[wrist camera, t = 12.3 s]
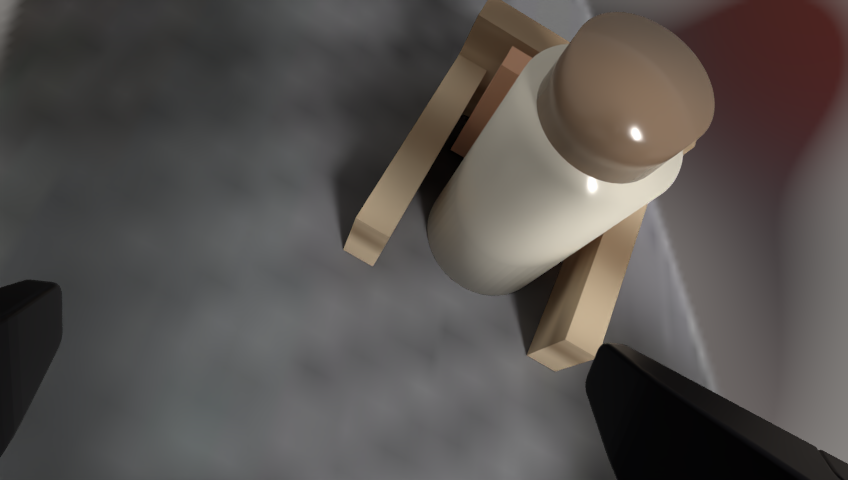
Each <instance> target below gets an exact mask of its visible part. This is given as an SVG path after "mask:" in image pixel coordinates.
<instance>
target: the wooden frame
mask: <svg viewBox="0 0 848 480" xmlns="http://www.w3.org/2000/svg"><path fill="white" fill-rule="evenodd" d="M569 43H570V42H568V41H567V40H565V39H563V38H562V37H560V36H559V35H557V34H555V33H554V32H552V31H550V30H549V29H547V28H545V27H544V26H542V25H541V24H539V23H537V22H536V21H534V20H532V19H531V18H529V17H528V16H526V15H524V14H523V13H521V12H519V11H518V10H516V9H515V8H513V7H511V6H510V5H508V4H506V3H505V2H503V1H502V0H488V1H487V2H486V4H485V6H484V7H483V9H482V10H481V12H480V13H479V15H478V17H477V19H476V21H475V23H474V25H473V27H472V29H471V31H470V33H469V35H468V37H467V40H466V42H465V44H464V46H463V48H462V50H461V52H460V54H459V56H458V57H457V59H456V60H455V62H454V63H453V65H452V67H451V68H450V70H449V71H448V73H447V74H446V76H445V78H444V79H443V81H442V82H441V84H440V86H439V87H438V89H437V90H436V92H435V93H434V95H433V97H432V98H431V100H430V101H429V103H428V104H427V106H426V108H425V109H424V111H423V112H422V114H421V116H420V117H419V119H418V120H417V122H416V123H415V125H414V127H413V128H412V130H411V131H410V133H409V134H408V136H407V138H406V139H405V141H404V142H403V144H402V146H401V147H400V149H399V150H398V152H397V153H396V155H395V157H394V158H393V160H392V161H391V163H390V165H389V166H388V168H387V169H386V171H385V172H384V174H383V176H382V177H381V179H380V180H379V182H378V183H377V185H376V187H375V188H374V190H373V191H372V193H371V195H370V196H369V198H368V199H367V201H366V202H365V204H364V206H363V207H362V209H361V210H360V212H359V213H358V215H357V217H356V218H355V221H354V224H353V226H352V229H351V231H350V234H349V236H348V239H347V241H346V244H345V247H344V249H343V250H345V251H346V252H348V253H350V254H352V255H353V256H355V257H357V258H359V259H360V260H362V261H364V262H366V263H367V264H369V265H371V266H373V265H374V264H375V262H376V260H377V259H378V257H379V255H380V253H381V252H382V250H383V248H384V247H385V245H386V243H387V241H388V240H389V238H390V236H391V235H392V233H393V231H394V229H395V228H396V226H397V224H398V223H399V221H400V219H401V217H402V216H403V214H404V212H405V211H406V209H407V207H408V205H409V204H410V202H411V200H412V199H413V197H414V195H415V193H416V192H417V190H418V188H419V187H420V185H421V183H422V182H423V180H424V178H425V176H426V175H427V173H428V171H429V170H430V168H431V166H432V164H433V163H434V161H435V159H436V158H437V156H438V154H439V152H440V151H441V149H442V147H443V146H444V144H445V142H446V140H447V139H448V137H449V135H450V134H451V132H452V130H453V128H454V127H455V125H456V123H457V122H458V120H459V118H460V116H461V115H462V114H464V115H466V116H467V117H470V116H471V114H472V112H473V111H474V109H475V107H476V106H477V104H478V102H479V101H480V99H481V97H482V96H483V94H484V92H485V91H486V89H487V87H488V86H489V84H490V82H491V81H492V79H493V77H494V76H495V74H496V73H497V71H498V69H499V68H500V66H501V64H502V63H503V61H504V59H505V58H506V56H507V54H508V53H509V51H510V49H511V48H512V46H513V47H515V48H517V49H518V50H520V51H522V52H523V53H525V54H527V55H528V56H530V57H532V58H533V57H534V56H536V55H537V54H539V53H540V52H542V51H543V50H546V49H548V48H550V47H553V46H557V45H562V44H569ZM695 143H696V141H694V142H693V143H692V144H690V145H689V146H688V147H686V148H685V149H683V155H684V154H685V153H686V152H688V151H689V150H691V149H692V148H693V147H694V146H695ZM647 204H648V203H647ZM647 204H646V205H644V206H643V207H641V208H640V209H638V210H637V211H635V212H634V213H632V214H631V215H630V216H628V217H627V218H625V219H624V220H622V221H621V222H619V223H618V224H616V225H615V226H613V227H612V228H610V229H609V230H607V231H606V232H604V233H603V234H601V235H600V236H598V237H597V238H595V239H594V240H592V241H591V242H589V243H588V244H586V245H585V246H584V247H582V248H581V249H579V250H578V251H576V252H575V253H573V254H572V255H570V256H569V257H567V258H566V259H564V261H563V264H562V266H561V269H560V272H559V274H558V277H557V279H556V282H555V284H554V287H553V289H552V292H551V295H550V297H549V300H548V302H547V305H546V307H545V310H544V312H543V315H542V318H541V320H540V323H539V325H538V328H537V330H536V333H535V335H534V338H533V341H532V343H531V346H530V348H529V351H528V353H527V356H529V357H531V358H532V359H534V360H536V361H537V362H539V363H541V364H543V365H544V366H546V367H548V368H550V369H551V370H553V371H558V370H562V369H565V368H568V367H571V366H574V365H577V364H581V363H584V362H587V361H590V360H593V359H594V358H595V355H596V353H597V350H598V348H599V347H600V346H601V345H602V343H603V340H604V337H605V334H606V331H607V328H608V324H609V321H610V318H611V315H612V312H613V309H614V306H615V303H616V300H617V297H618V294H619V290H620V287H621V284H622V281H623V278H624V275H625V272H626V269H627V266H628V263H629V260H630V257H631V253H632V250H633V247H634V244H635V241H636V238H637V235H638V232H639V229H640V226H641V223H642V220H643V216H644V213H645V210H646V207H647Z"/></svg>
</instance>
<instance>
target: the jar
mask: <svg viewBox="0 0 848 480" xmlns="http://www.w3.org/2000/svg"><path fill="white" fill-rule="evenodd" d="M713 114H714V94H713V89H712V86H711V83H710V80H709V78H708V75H707V73H706V71H705V69H704V68H703V66H702V64H701V63H700V61H699V60H698V58H697V57H696V55H695V54H694V53H693V52H692V51H691V49H690V48H689V47H688V46H687V45H686V44H685V43H684V42H683V41H682V40H680V39H679V38H678V37H677V36H676V35H675V34H673V33H671V31H669V30H668V29H666V28H664V27H663V26H661V25H660V24H658V23H656V22H654V21H652V20H650V19H647V18H645V17H642V16H638V15H635V14H630V13H625V12H609V13H604V14H600V15H598V16H595V17H593V18H591V19H590V20H588V21H587V22H586V23H585V24H584V25H583V26H582V27H581V28H580V30H579V31H578V32H577V34H576V35H575V36H574V38H573V39H572V41H571V42H570V43H569V44H562V45H557V46H553V47H550V48H548V49H546V50H543V51H542V52H540V53H539V54H537V55H536V56H534V57H533V58H532V59H531V60H530V61H529V62H528V64H527V65H526V66H525V68H524V69H523V71H522V72H521V74H520V75H519V77H518V78H517V80H516V81H515V83H514V84H513V86H512V87H511V89H510V90H509V92H508V93H507V95H506V96H505V98H504V99H503V101H502V102H501V104H500V105H499V107H498V108H497V110H496V111H495V113H494V114H493V116H492V117H491V119H490V120H489V122H488V123H487V125H486V126H485V128H484V129H483V131H482V132H481V134H480V135H479V137H478V138H477V140H476V141H475V143H474V144H473V146H472V147H471V149H470V150H469V152H468V153H467V155H466V156H465V158H464V159H463V161H462V162H461V164H460V165H459V167H458V168H457V170H456V171H455V173H454V174H453V176H452V177H451V179H450V180H449V182H448V183H447V185H446V186H445V188H444V189H443V191H442V192H441V194H440V195H439V197H438V198H437V200H436V201H435V203H434V205H433V206H432V208H431V211H430V214H429V218H428V225H427V233H428V240H429V245H430V248H431V251H432V253H433V255H434V257H435V259H436V261H437V263H438V264H439V266H440V267H441V268H442V270H443V271H444V272H445V273H446V274H447V275H448V276H449V277H450V278H451V279H452V280H453V281H455V282H456V283H457V284H459V285H460V286H462V287H464V288H466V289H468V290H470V291H472V292H475V293H479V294H482V295H490V296H499V295H506V294H510V293H513V292H515V291H517V290H520V289H521V288H523V287H524V286H526V285H527V284H529V283H530V282H532V281H533V280H535V279H536V278H538V277H539V276H541V275H542V274H543V273H545V272H546V271H548V270H549V269H551V268H552V267H554V266H555V265H557V264H558V263H560V262H561V261H563V260H564V259H566V258H567V257H569V256H570V255H572V254H573V253H575V252H576V251H578V250H579V249H581V248H582V247H584V246H585V245H586V244H588V243H589V242H591V241H592V240H594V239H595V238H597V237H598V236H600V235H601V234H603V233H604V232H606V231H607V230H609V229H610V228H612V227H613V226H615V225H616V224H618V223H619V222H621V221H622V220H624V219H625V218H627V217H628V216H630V215H631V214H632V213H634V212H635V211H637V210H638V209H640V208H641V207H643V206H644V205H646V204H647V203H649V202H650V201H652V200H653V199H655V198H656V197H658V196H659V195H661V194H662V193H664V192H665V190H667V189H668V188H669V187H670V186H671V185H672V183H673V182H674V180H675V179H676V177H677V175H678V173H679V170H680V167H681V164H682V158H683V149H685V148H686V147H688V146H689V145H690V144H692V143H693V142H694V141H696V140H697V139H698V138H699V137H700V136H702V135H703V134H704V133H705V132H706V130H707V129H708V127H709V125H710V123H711V121H712V118H713Z"/></svg>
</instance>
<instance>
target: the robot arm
mask: <svg viewBox="0 0 848 480" xmlns="http://www.w3.org/2000/svg"><path fill="white" fill-rule="evenodd" d="M61 338H62V292H61V288H60V286H59V285H58V284H57V283H54V282H47V281H38V280H24V281H20V282H17V283H14V284H11V285H7V286H4V287H1V288H0V457H1V455H2V454H3V452H4V451H5V449H6V448H7V446H8V444H9V443H10V441H11V440H12V438H13V436H14V435H15V433H16V431H17V429H18V427H19V425H20V424H21V422H22V420H23V418H24V416H25V414H26V412H27V410H28V408H29V406H30V404H31V402H32V400H33V398H34V396H35V394H36V392H37V390H38V388H39V386H40V384H41V382H42V380H43V378H44V376H45V374H46V372H47V370H48V368H49V366H50V364H51V362H52V360H53V358H54V356H55V354H56V352H57V350H58V348H59V345H60V342H61ZM586 393H587V396H588V399H589V402H590V405H591V408H592V411H593V414H594V417H595V420H596V423H597V426H598V429H599V432H600V435H601V438H602V441H603V444H604V447H605V450H606V453H607V456H608V459H609V461H610V464H611V467H612V469H613V471H614V474H615V476H616V479H617V480H848V464H847V463H845V462H843V461H841V460H840V459H838V458H836V457H834V456H832V455H830V454H828V453H826V452H825V451H823V450H818V449H817V448H816V447H815V446H813V445H811V444H809V443H808V442H806V441H804V440H802V439H800V438H798V437H796V436H795V435H793V434H791V433H789V432H787V431H785V430H783V429H781V428H780V427H777V426H776V425H774V424H772V423H770V422H768V421H766V420H765V419H763V418H761V417H759V416H757V415H755V414H753V413H751V412H750V411H748V410H746V409H744V408H742V407H740V406H738V405H737V404H735V403H733V402H731V401H729V400H727V399H725V398H723V397H722V396H720V395H718V394H716V393H714V392H712V391H710V390H709V389H707V388H705V387H703V386H701V385H699V384H697V383H695V382H694V381H692V380H690V379H688V378H686V377H684V376H682V375H680V374H679V373H677V372H675V371H673V370H671V369H669V368H667V367H666V366H664V365H662V364H660V363H658V362H656V361H654V360H652V359H651V358H649V357H647V356H645V355H643V354H641V353H639V352H637V351H636V350H634V349H632V348H630V347H628V346H626V345H623V344H616V343H604V344H602V345H601V346H600V347H599V348H598V350H597V353H596V355H595V358H594V360H593V363H592V365H591V368H590V371H589V373H588V376H587V379H586Z"/></svg>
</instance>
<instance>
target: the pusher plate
mask: <svg viewBox="0 0 848 480" xmlns="http://www.w3.org/2000/svg"><path fill="white" fill-rule="evenodd" d="M531 59H532V57H530V56H528V55H527V54H525V53H523V52H522V51H520V50H518V49H517V48H515V47H513V46H512V48H511V49H510V51H509V53H508V54H507V56H506V58H505V59H504V61H503V63H502V64H501V66H500V68H499V69H498V71H497V73H496V74H495V76H494V77H493V79H492V81H491V82H490V84H489V86H488V87H487V89H486V91H485V92H484V94H483V96H482V97H481V99H480V101H479V102H478V104H477V106H476V107H475V109H474V111H473V112H472V114H471V116H470V117H469V119H468V120H467V122H466V124H465V125H464V127H463V129H462V130H461V132H460V134H459V135H458V137H457V139H456V141H455V142H454V144H453V146H452V148H451V149H450V150H452V151H454V152H455V153H457V154H459V155H460V156H462V157H464V158H465V156H466V155H467V153H468V152H469V150H470V149H471V147H472V146H473V144H474V143H475V141H476V140H477V138H478V137H479V135H480V134H481V132H482V131H483V129H484V128H485V126H486V125H487V123H488V122H489V120H490V119H491V117H492V116H493V114H494V113H495V111H496V110H497V108H498V107H499V105H500V104H501V102H502V101H503V99H504V98H505V96H506V95H507V93H508V92H509V90H510V89H511V87H512V86H513V84H514V83H515V81H516V80H517V78H518V77H519V75H520V74H521V72H522V71H523V69H524V68H525V66H526V65H527V64H528V62H529V61H530V60H531Z"/></svg>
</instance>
